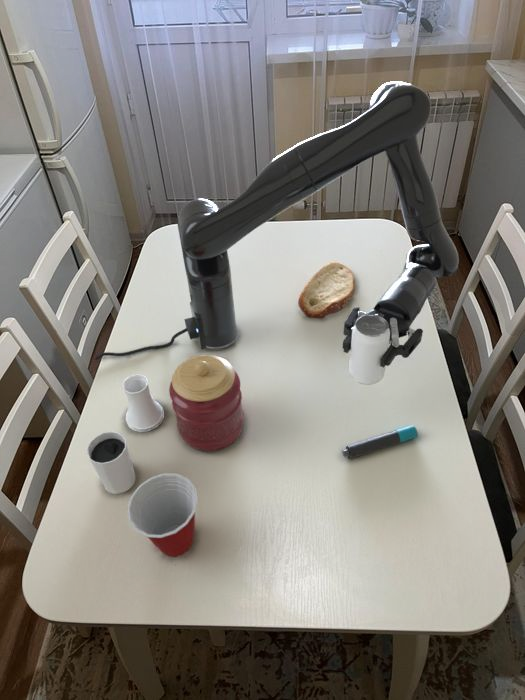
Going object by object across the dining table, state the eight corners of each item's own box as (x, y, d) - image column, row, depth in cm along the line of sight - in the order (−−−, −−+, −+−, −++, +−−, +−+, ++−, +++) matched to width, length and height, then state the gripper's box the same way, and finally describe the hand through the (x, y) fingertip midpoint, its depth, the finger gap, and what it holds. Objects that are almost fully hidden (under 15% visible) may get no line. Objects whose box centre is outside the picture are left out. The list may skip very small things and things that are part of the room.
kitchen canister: (253, 409, 110) (248, 345, 97) (230, 460, 101) (221, 398, 89) (195, 395, 113) (183, 332, 101) (167, 443, 104) (150, 381, 92)
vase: (147, 437, 106) (137, 404, 99) (118, 422, 109) (106, 389, 102) (171, 411, 110) (163, 378, 103) (143, 398, 113) (133, 364, 106)
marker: (343, 460, 100) (347, 460, 98) (339, 447, 101) (343, 447, 98) (413, 437, 103) (419, 437, 101) (409, 425, 104) (414, 424, 101)
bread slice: (342, 264, 144) (342, 253, 142) (375, 303, 132) (376, 291, 129) (279, 281, 140) (279, 269, 138) (307, 323, 128) (308, 311, 125)
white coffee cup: (106, 464, 101) (92, 431, 95) (141, 464, 101) (129, 431, 94) (97, 496, 97) (81, 463, 90) (134, 496, 96) (121, 463, 89)
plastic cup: (144, 514, 94) (129, 475, 85) (206, 507, 94) (197, 468, 86) (139, 576, 86) (122, 539, 78) (207, 569, 86) (197, 532, 78)
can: (383, 388, 98) (390, 339, 90) (347, 384, 99) (351, 335, 91) (384, 362, 103) (391, 314, 94) (350, 359, 104) (354, 311, 96)
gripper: (368, 277, 105) (327, 326, 96) (440, 300, 99) (405, 355, 90) (365, 307, 111) (326, 357, 101) (433, 330, 104) (399, 386, 95)
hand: (363, 356), depth 95 cm, fingers closed on can, 6 cm apart
